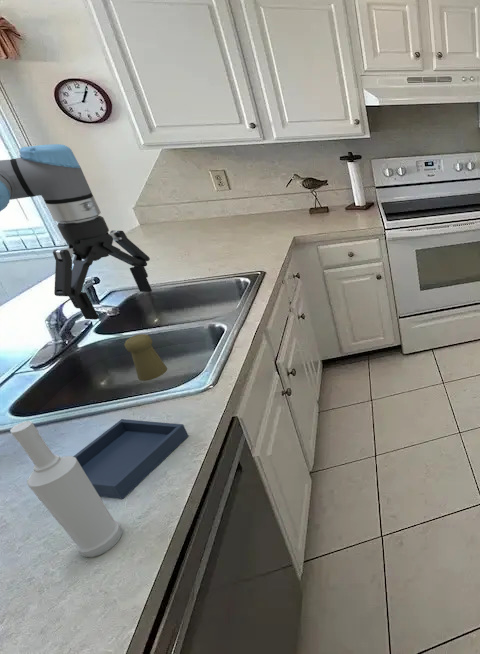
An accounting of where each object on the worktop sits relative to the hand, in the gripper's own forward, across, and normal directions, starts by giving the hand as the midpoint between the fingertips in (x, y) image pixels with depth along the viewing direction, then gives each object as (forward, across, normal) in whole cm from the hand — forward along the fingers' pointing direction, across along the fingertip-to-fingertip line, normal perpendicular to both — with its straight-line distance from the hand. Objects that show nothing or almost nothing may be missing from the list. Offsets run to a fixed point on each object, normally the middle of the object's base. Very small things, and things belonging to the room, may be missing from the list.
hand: (120, 304), depth 99 cm
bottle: (+20, -42, -32) cm, 56 cm away
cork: (+20, -1, -1) cm, 20 cm away
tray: (+20, -27, -21) cm, 39 cm away
